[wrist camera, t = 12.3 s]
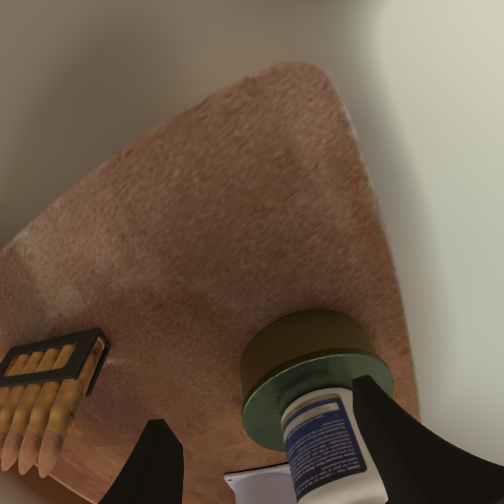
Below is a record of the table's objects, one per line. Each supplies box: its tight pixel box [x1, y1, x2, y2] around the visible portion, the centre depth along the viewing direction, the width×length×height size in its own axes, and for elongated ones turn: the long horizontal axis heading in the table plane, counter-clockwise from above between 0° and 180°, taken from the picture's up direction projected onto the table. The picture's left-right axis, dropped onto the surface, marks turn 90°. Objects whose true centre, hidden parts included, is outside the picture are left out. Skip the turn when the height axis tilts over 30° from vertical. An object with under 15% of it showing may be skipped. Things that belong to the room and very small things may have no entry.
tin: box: [240, 310, 394, 452], centre depth 21 cm, size 10×10×5 cm
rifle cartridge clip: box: [0, 328, 111, 478], centre depth 16 cm, size 11×2×12 cm, turn 106°
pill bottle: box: [281, 388, 388, 504], centre depth 15 cm, size 5×5×10 cm
